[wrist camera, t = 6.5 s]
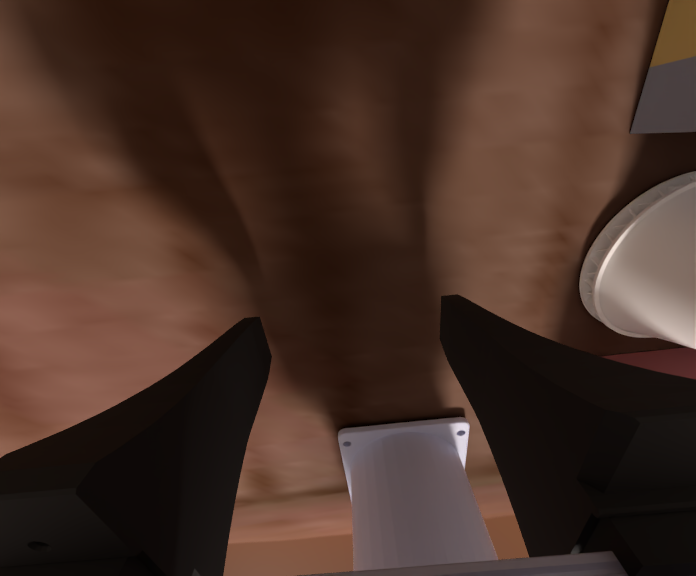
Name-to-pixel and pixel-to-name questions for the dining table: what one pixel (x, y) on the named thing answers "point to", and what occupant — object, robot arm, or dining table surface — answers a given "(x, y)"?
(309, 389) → the dining table surface
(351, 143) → the dining table surface
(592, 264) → the vase
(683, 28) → the book row
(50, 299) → the dining table surface
